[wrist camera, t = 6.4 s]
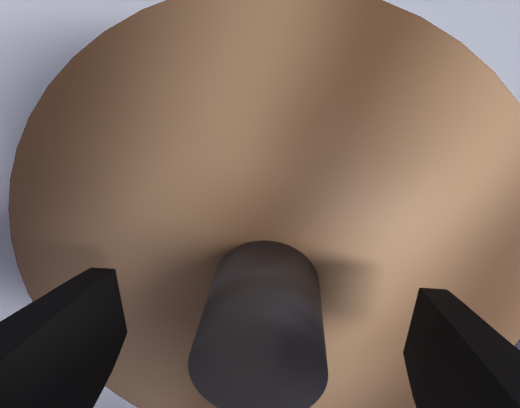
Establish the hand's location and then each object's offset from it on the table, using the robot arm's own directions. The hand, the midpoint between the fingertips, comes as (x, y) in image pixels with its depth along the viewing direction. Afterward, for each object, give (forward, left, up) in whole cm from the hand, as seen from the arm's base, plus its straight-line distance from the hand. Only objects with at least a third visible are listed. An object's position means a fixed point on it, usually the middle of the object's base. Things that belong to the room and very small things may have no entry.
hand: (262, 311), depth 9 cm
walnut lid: (0, 0, -2) cm, 2 cm away
